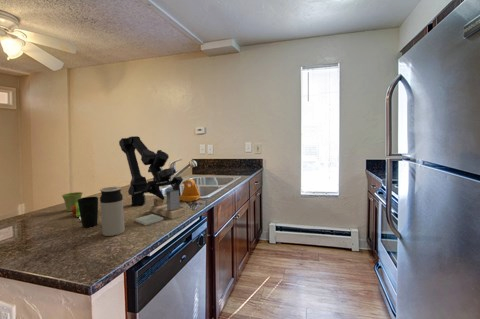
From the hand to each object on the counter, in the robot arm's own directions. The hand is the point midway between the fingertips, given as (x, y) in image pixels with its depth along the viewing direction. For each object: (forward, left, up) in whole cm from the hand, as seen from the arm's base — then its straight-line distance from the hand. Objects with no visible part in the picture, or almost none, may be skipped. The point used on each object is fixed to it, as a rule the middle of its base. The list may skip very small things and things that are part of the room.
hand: (172, 197), depth 124 cm
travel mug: (-20, -20, -9) cm, 30 cm away
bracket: (+4, +30, -9) cm, 31 cm away
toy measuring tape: (-45, +4, -9) cm, 46 cm away
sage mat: (-10, -6, -9) cm, 14 cm away
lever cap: (0, 0, -6) cm, 6 cm away
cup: (-34, -10, -9) cm, 36 cm away
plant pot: (-56, +18, -9) cm, 59 cm away
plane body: (-4, +4, -9) cm, 10 cm away
